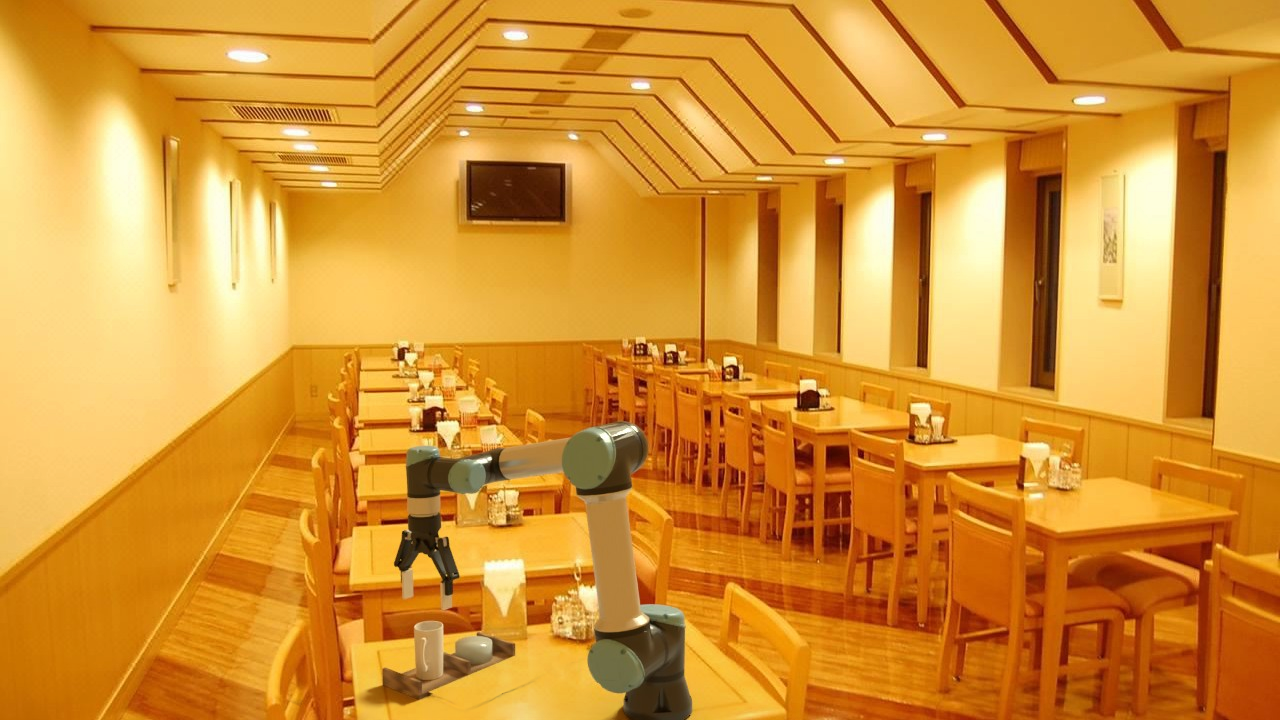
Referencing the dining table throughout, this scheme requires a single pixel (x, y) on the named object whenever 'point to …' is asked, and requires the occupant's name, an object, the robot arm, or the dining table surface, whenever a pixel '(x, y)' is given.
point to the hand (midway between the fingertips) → (426, 603)
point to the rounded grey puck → (474, 649)
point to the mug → (428, 650)
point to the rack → (445, 670)
